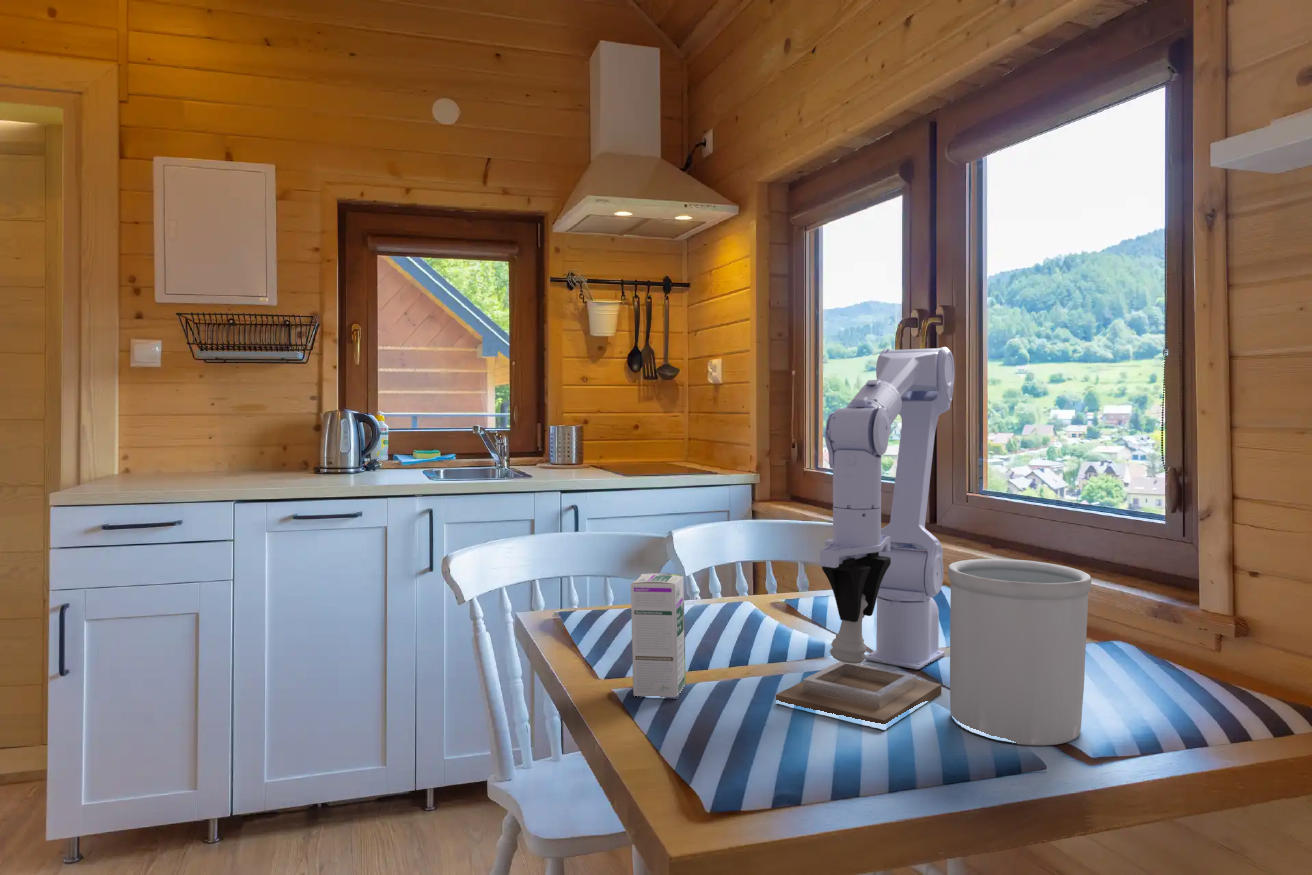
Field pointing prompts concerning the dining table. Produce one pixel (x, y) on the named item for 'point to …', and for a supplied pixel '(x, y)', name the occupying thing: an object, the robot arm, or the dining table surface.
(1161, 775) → the dining table surface
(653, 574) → the syrup box
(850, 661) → the rook chess piece
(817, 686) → the collar board
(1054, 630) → the utensil holder
